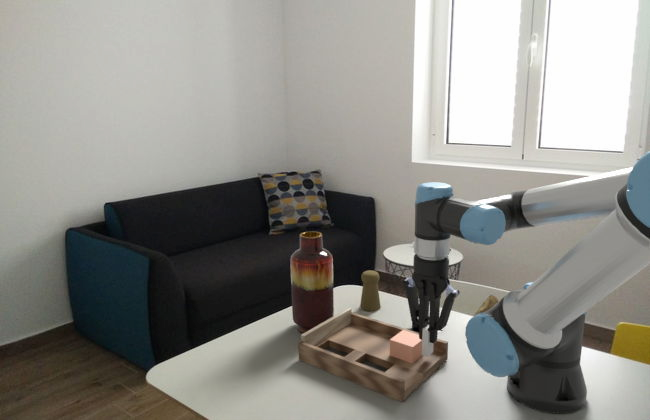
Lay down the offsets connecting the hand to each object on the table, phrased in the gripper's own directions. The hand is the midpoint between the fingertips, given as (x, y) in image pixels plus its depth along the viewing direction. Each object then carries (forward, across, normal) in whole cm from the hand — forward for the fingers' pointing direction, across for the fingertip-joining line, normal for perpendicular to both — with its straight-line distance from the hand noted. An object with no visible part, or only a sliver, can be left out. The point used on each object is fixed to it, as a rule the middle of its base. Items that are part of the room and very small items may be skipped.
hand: (427, 353), depth 115 cm
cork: (+4, +29, -20) cm, 36 cm away
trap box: (+4, +12, +4) cm, 13 cm away
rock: (+4, -4, -23) cm, 24 cm away
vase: (+4, +34, 0) cm, 34 cm away
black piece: (+5, +10, -16) cm, 19 cm away
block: (+2, +5, 0) cm, 5 cm away
